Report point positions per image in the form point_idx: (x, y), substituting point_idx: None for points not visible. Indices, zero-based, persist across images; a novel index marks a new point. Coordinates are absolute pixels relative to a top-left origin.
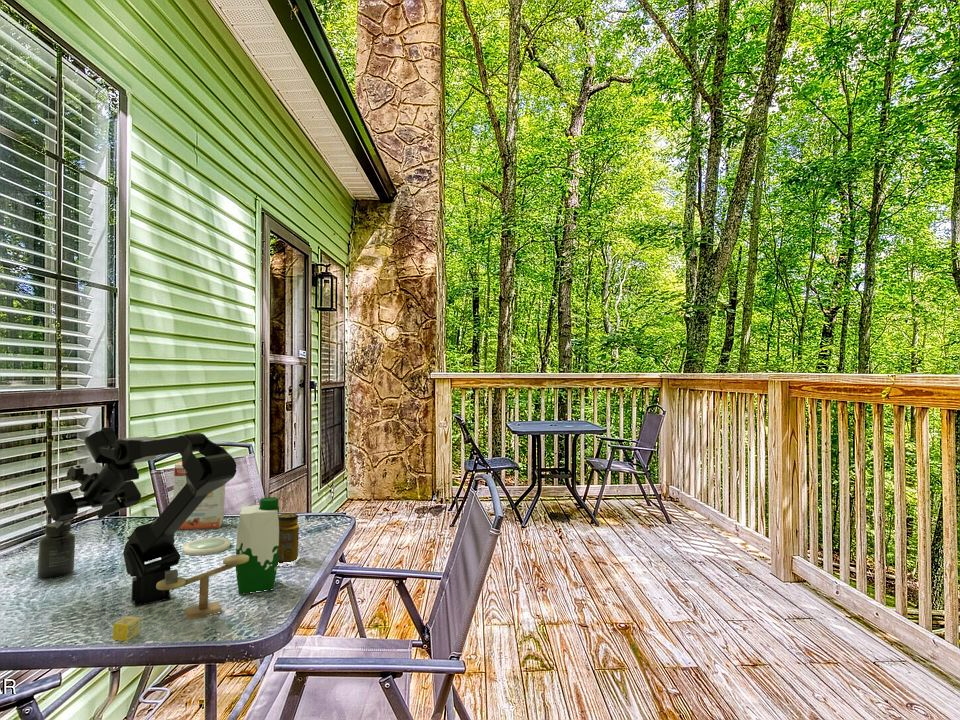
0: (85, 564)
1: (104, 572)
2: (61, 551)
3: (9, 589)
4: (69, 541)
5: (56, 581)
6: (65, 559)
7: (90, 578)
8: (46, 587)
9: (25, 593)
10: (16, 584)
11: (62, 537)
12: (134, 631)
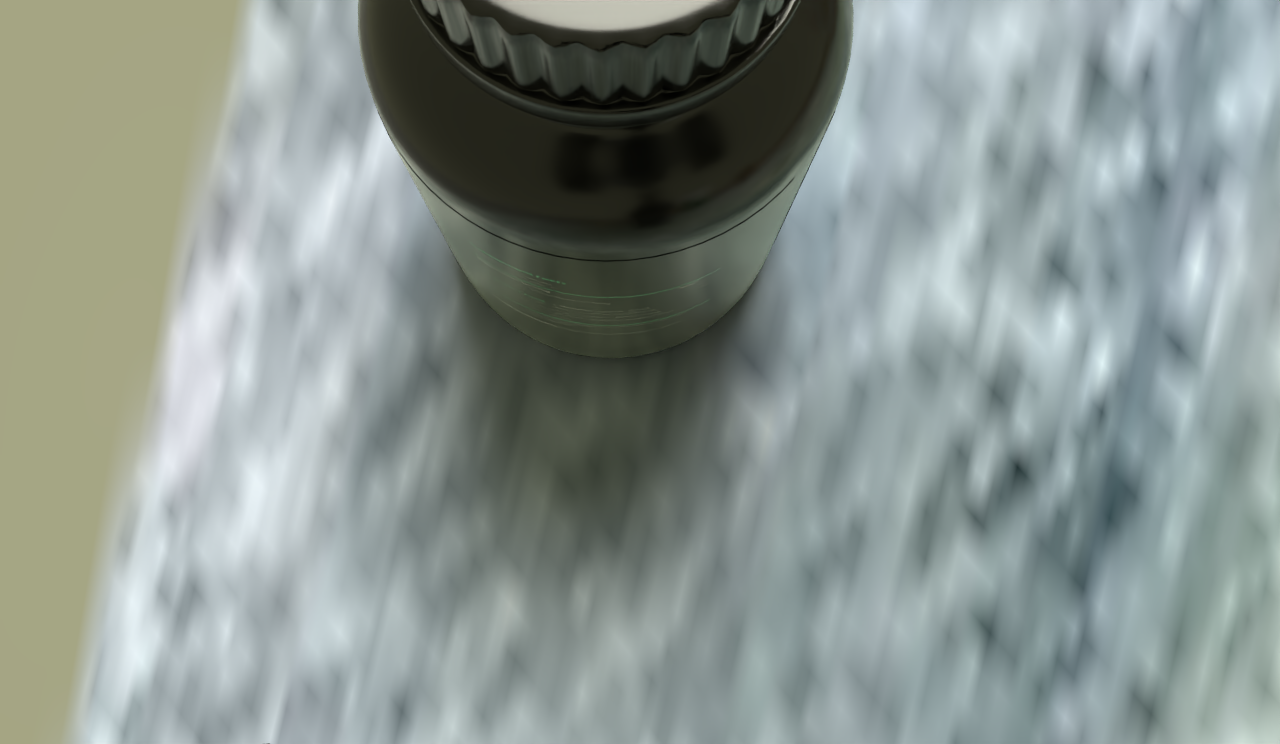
0: (919, 88)
1: (1002, 562)
2: (610, 294)
3: (165, 379)
4: (725, 228)
5: (553, 480)
6: (664, 315)
7: (836, 668)
8: (429, 616)
9: (234, 655)
10: (253, 259)
11: (627, 175)
12: None
